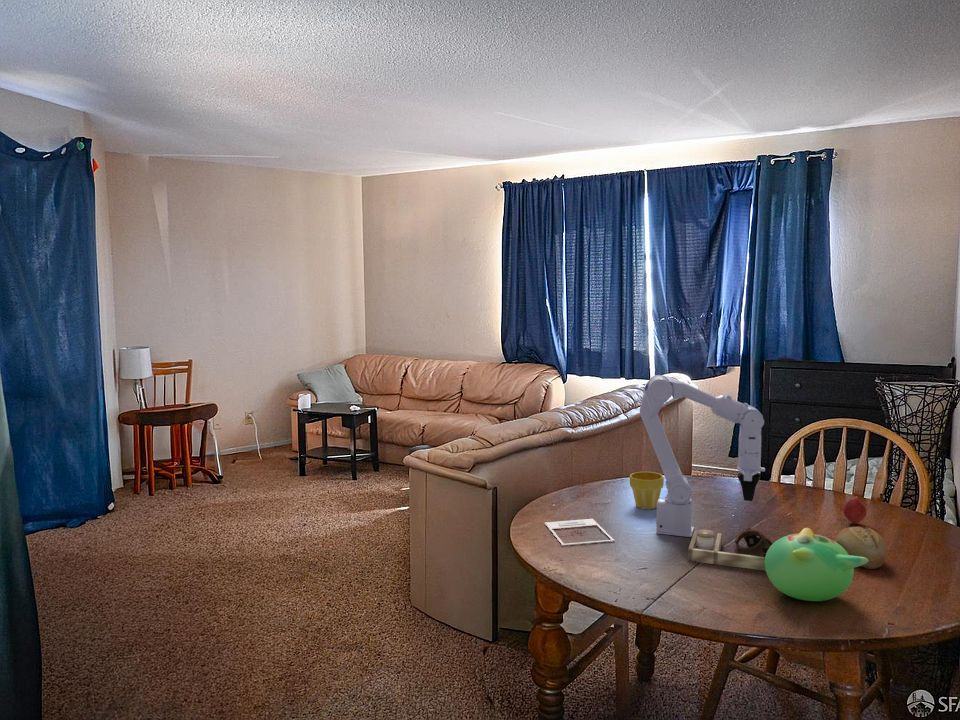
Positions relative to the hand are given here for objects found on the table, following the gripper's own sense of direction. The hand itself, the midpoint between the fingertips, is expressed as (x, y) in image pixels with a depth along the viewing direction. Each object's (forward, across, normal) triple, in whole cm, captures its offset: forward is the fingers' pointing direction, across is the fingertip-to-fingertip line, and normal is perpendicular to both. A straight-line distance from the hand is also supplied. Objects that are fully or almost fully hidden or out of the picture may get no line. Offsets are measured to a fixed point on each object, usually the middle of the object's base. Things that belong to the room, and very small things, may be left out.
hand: (748, 500), depth 195 cm
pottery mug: (+10, -16, -2) cm, 19 cm away
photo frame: (+11, -14, +44) cm, 47 cm away
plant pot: (+10, +16, +30) cm, 36 cm away
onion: (+10, +20, -28) cm, 35 cm away
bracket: (+10, -17, +2) cm, 19 cm away
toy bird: (+10, -36, -14) cm, 40 cm away
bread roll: (+10, -8, -27) cm, 30 cm away
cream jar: (+10, -18, +9) cm, 22 cm away
